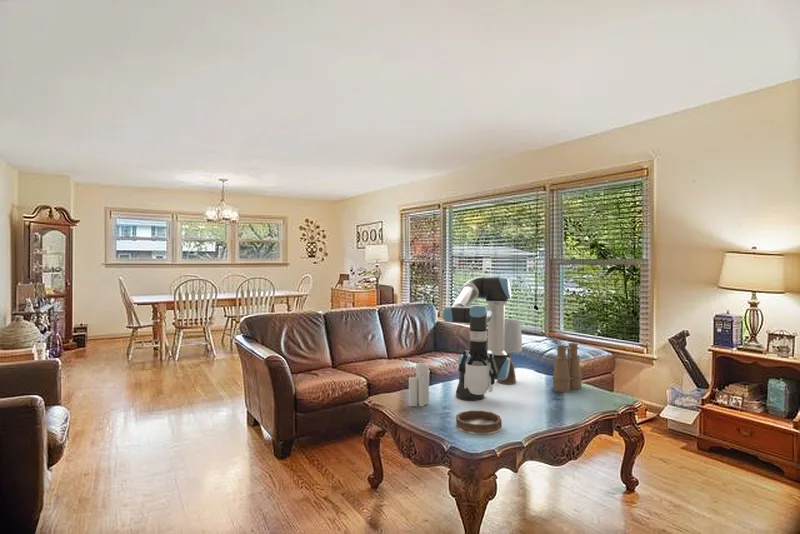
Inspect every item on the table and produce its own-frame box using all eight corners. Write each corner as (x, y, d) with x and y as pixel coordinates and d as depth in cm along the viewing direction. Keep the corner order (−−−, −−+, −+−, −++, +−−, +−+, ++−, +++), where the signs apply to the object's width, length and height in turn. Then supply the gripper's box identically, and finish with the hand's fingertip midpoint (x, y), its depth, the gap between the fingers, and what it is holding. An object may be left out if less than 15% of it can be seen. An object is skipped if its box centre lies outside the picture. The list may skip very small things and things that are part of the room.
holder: (447, 428, 206) (447, 419, 206) (467, 415, 222) (467, 407, 222) (491, 437, 195) (491, 428, 195) (508, 423, 212) (508, 415, 211)
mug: (461, 387, 216) (461, 358, 216) (484, 386, 217) (484, 358, 217) (468, 396, 202) (468, 366, 201) (493, 396, 203) (493, 365, 202)
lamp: (493, 386, 274) (493, 322, 273) (488, 378, 292) (488, 318, 292) (525, 386, 273) (525, 322, 272) (518, 378, 292) (518, 318, 291)
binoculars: (563, 393, 259) (563, 347, 259) (548, 389, 267) (548, 345, 267) (585, 387, 271) (586, 343, 271) (570, 383, 279) (570, 341, 279)
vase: (421, 400, 247) (421, 362, 246) (432, 403, 242) (432, 364, 241) (406, 405, 239) (406, 366, 238) (417, 408, 234) (417, 368, 233)
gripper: (450, 339, 211) (450, 387, 212) (500, 343, 198) (500, 395, 199) (458, 336, 217) (458, 384, 218) (506, 341, 205) (506, 391, 205)
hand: (478, 389), depth 208 cm, fingers closed on mug, 11 cm apart
